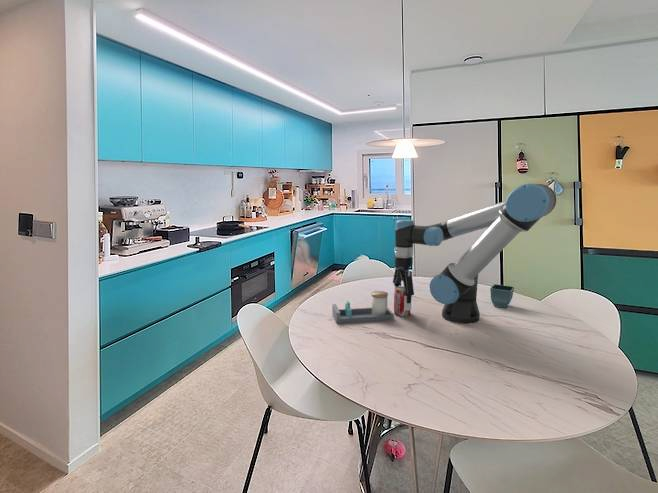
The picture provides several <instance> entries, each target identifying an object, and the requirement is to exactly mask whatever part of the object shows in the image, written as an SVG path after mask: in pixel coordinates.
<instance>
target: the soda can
mask: <svg viewBox="0 0 658 493" xmlns="http://www.w3.org/2000/svg"><path fill="white" fill-rule="evenodd" d="M400 286H401V287H396V290H395V289H394V290H395V293H394V296H393V297H394V298H393V310H394V311H393V314H394V315H396V316H398V317H408V316H410V315H411V310H404V301H405V296H404V294H406V293H405V289H404V286H402V285H400Z"/></svg>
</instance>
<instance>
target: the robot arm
mask: <svg viewBox="0 0 658 493" xmlns="http://www.w3.org/2000/svg"><path fill="white" fill-rule="evenodd" d="M556 204H557V195H556V193H555V191H554V190H553V189H552V188H551V187H550V186H548V185H546V184H543V183H525V184H521V185H519V186H517V187H515V188H514V189H513V190H511V191H510V193H509V194H508V195H507V198H506V200H504V201H501V202H498V203H495V204H492V205H489V206H486V207H483V208H481V209H477V210H474V211H471V212H469V213H466V214H462V215H460V216H457V217H454V218H451V219H449V220H445V221H442V222H439V223H435V224H431V225H416V224H415V221H414V220H412V219H398V220H396V221H395V228H394V232H395V233H394V240H395V241H394V242H395V243H394V249H393V251H394V255H395V256H394V266H395V267H394V274H393V280H392V284H393V286H394V289H393V290H394V291H393V292H394V293H395V290H396V287H401V286H402V283H403V287H404V289H405V293H406V294H404V296H405V301H404V310H410V311H412V298H413V297H412V296H414V295H415V289H414V283H413V281H414V280H413V271H412V270H410V269H409V267H412V266H413V260H414V258H413V256H414V245H422V246H429V247H432V246H433V247H438V246H440V245H441V244H442V242H444V241H447V240H449V239H453V238H456V237H459V236H463V235H466V234H469V233H473V232H476V231H479V230H483V229H485V228H486V229H485V231H484V232H482V233H481V235H480V236H479V237H478V238H477V239H476V240H475V241H474V242H473V243H472V244H471V246H470V247H469V248H467V250H466V251H465V252H464V253H463V255H461V257H460V258H459V259H458V260H457V261H456V262H450V263H448V264H447V266H445V268H444V269H443V270H442V271H441V272H440V273H439V274H436V275H434V276H433V278H432V279H431V280H430V281H429V282H430V283H429V292H430V294H431V297H432V298H433V299H434V300H435V301H436V302H437V303H439V304H442V305H443V308H442V310H441V317H442V318H443V319H445V320H447V321H449V322H451V323H456V324H463V325H464V324H466V325H467V324H469V323H470V324H476V323H478V322H479V321H480V319H481V315H480V314H481V313H480V310H479V307H478V302H477V295H478V294H477V292H478V283H479V282H478V281H479V274H480V273H481V272H482V271H483V270H484V269H485V268H486V267H487V266H488V265H489V264H490V263H491V262H492V261H493V260H494V259H495V258H496V257H497V256H498V255H499V254H500V253H501V252H502V251H503V250H504V249H505V248H506V247H507V245H509V244H510V243H511V242H512V241H513V240H514V238H516V237H517V235H519V234H520V232H521V233H522V232H529V230H530V229H531V228H533V227H534V226H535V225H536V224H537V223H538V222H539V220H541V218H543V217H545V216H548V215H549V214H551V213H552V211H553V210H554V209H555V208H556ZM475 322H476V323H475Z"/></svg>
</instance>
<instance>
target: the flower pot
mask: <svg viewBox="0 0 658 493" xmlns="http://www.w3.org/2000/svg"><path fill="white" fill-rule="evenodd" d="M489 291H490V300H491V303H492V304H493V307H496V306H499V307H498V308H502V307H504V309H507V307H508V306H509V305H510V303H511V301H512V299H513V297H514V291H515V286H512V285H511V286H510V285H504V284H495V283H494V284H493V285H492V286H491V287H490V290H489Z"/></svg>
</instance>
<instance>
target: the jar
mask: <svg viewBox="0 0 658 493" xmlns="http://www.w3.org/2000/svg"><path fill="white" fill-rule="evenodd" d="M388 295H389V293H388V292H386V291H384V290H383V291H382V290H376V291H373V292H371V308H372V316H379V315H387V307H388V297H389V296H388Z"/></svg>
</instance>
